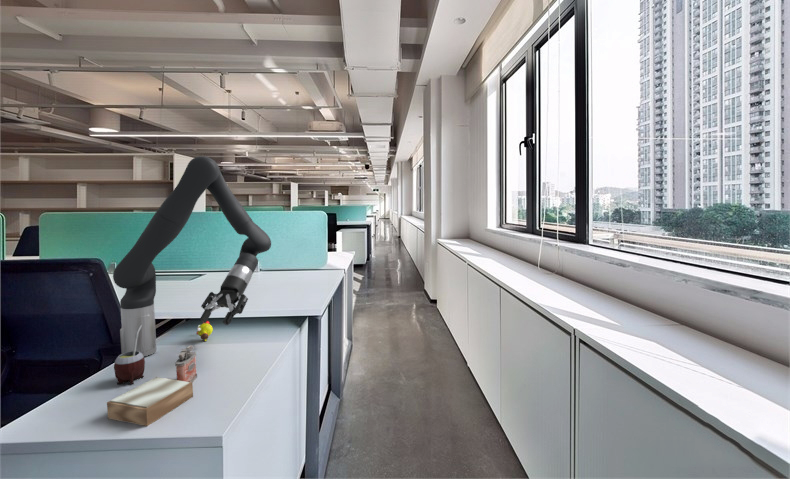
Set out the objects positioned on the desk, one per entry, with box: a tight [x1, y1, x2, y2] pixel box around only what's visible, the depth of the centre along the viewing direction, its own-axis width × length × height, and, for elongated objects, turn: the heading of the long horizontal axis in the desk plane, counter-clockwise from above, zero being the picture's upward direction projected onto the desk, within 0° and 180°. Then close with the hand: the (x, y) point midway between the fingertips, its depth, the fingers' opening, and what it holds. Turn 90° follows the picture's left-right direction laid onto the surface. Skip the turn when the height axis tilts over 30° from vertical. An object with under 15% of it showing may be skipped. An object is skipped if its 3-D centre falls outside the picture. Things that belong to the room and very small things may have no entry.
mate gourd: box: [113, 325, 146, 386], centre depth 100 cm, size 8×8×15 cm
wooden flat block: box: [106, 376, 194, 427], centre depth 87 cm, size 12×13×4 cm
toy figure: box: [196, 320, 214, 342], centre depth 131 cm, size 18×6×7 cm, turn 27°
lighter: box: [174, 345, 198, 384], centre depth 99 cm, size 8×3×10 cm, turn 4°
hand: (213, 322), depth 109 cm, fingers open, 8 cm apart
